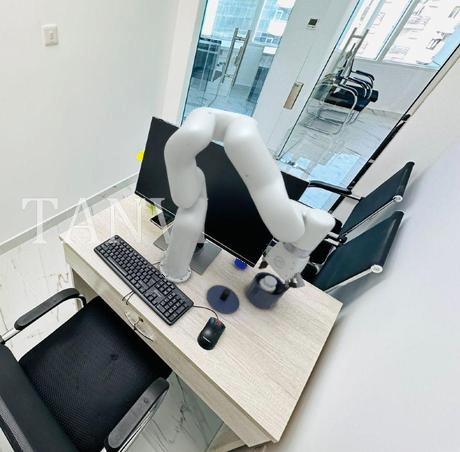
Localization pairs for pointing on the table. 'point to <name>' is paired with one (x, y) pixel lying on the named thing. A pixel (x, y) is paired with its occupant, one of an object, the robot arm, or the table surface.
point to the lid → (223, 299)
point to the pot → (263, 292)
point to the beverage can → (240, 264)
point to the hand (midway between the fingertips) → (271, 278)
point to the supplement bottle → (268, 284)
